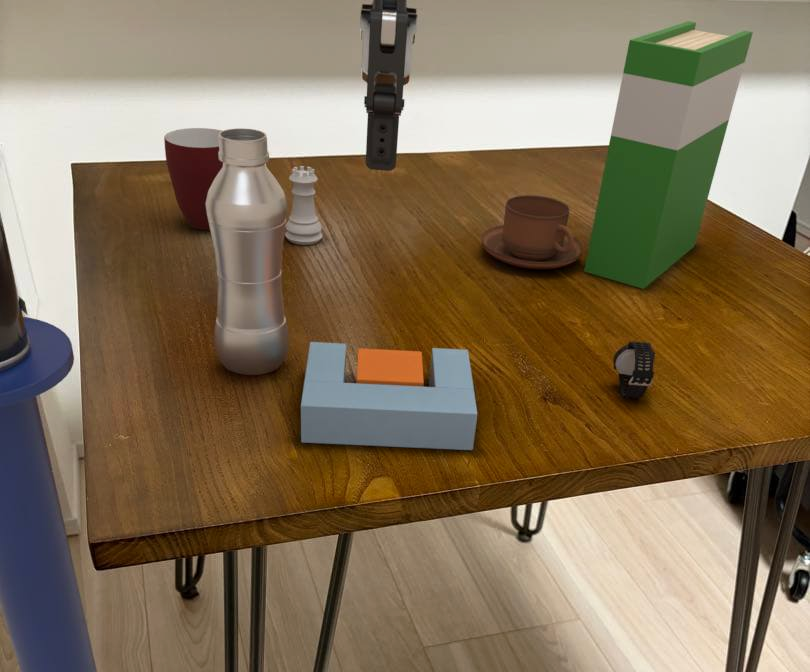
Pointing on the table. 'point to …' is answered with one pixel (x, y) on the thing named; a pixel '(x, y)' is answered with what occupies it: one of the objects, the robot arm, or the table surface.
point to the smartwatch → (634, 368)
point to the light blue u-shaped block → (388, 404)
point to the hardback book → (663, 150)
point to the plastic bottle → (248, 255)
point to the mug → (193, 170)
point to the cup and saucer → (533, 234)
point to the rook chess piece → (303, 209)
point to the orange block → (390, 367)
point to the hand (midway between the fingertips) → (381, 151)
